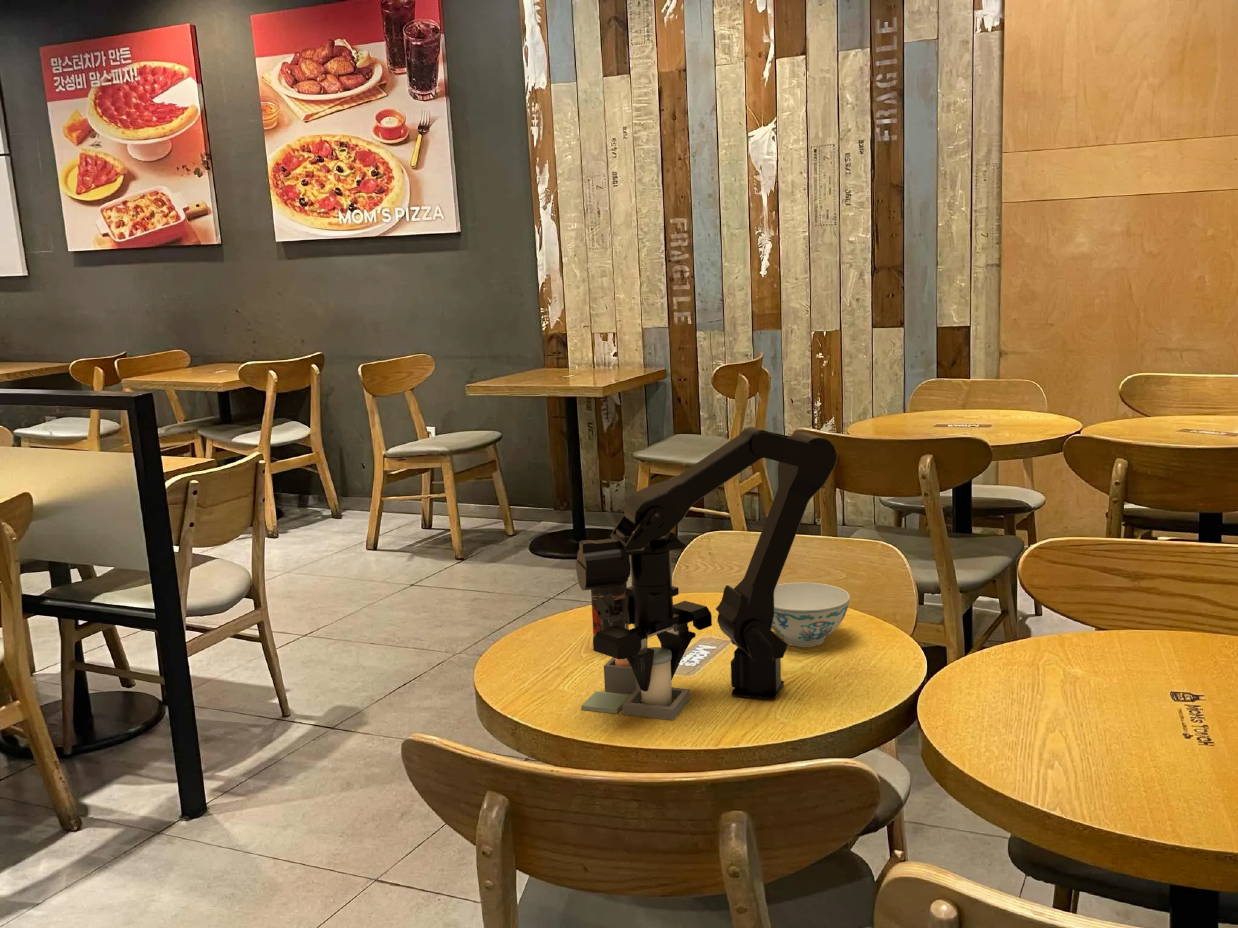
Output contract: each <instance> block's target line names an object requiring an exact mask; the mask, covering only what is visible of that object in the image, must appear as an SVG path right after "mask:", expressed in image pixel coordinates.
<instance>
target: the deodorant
mask: <svg viewBox="0 0 1238 928" xmlns="http://www.w3.org/2000/svg"><path fill="white" fill-rule="evenodd" d="M627 583H628V581H627V582H624V584H623V585H622V586H615V587H607V588H600V589H592V590H590V597H591V599H590V600H591V613H592V615H591V616H592V637H593V636H594V635H595V633H596V632H597V631H600V630H603V629H605V628H608V627H611V626H614V625H616V626H619V627H622V628H625V629H630V627H629V625H628V624H625V623H623V619H621V620H616V621H614V622H613V623H608V619H603V620H601V619H600V618H599V617H598V614H597V611H596V599H597V598H600V597H603V596H607V595H612V596H613V598H614V599H616V598H619V597H622V596H625V590H626V588H628V587H627V585H628V584H627Z"/></svg>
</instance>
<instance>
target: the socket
mask: <svg viewBox="0 0 1238 928" xmlns="http://www.w3.org/2000/svg"><path fill="white" fill-rule="evenodd" d="M629 695H630V696H629V697H628V698H627V700H626V701H625V702H624V703H623V708H622V715H624V714H625V716H633V717H641V718H651V719H659V720H669V721H675V720H676V718H677V717H678V716H679V714H680V713H681V712H682V710H684V708H685V707H686V705H687V704H688V703H689V702H690V701H691V689H690V688H685V687H684V688H682V687H672V705H671V706H670V707H668V706H659V705H650V704H642V700H641V689H640V686H639V687H638V688H637V689H636V690H635V691H634V692H633V693H632V694H629Z"/></svg>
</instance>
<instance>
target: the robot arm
mask: <svg viewBox="0 0 1238 928" xmlns="http://www.w3.org/2000/svg"><path fill="white" fill-rule="evenodd" d="M763 458H764V459H766V460H767V459H768V460H772V461H777V462H778V464H777V483H778V485H777V486H778V487H777V490H776V494H775V495H774V496H775V497H774V498H773V501H772V504H771V507H770V509H769V511H768V515H767V516H766V519H765V522H764V525H763V528H762V530H761V533H760V536H759V539H758V540H757V543H756V546H755V549H754V551H753V554H752V556H751V559H750V561H749V564H748V567H747V570H746V572H745V575H744V576H743V578H742V580H741V581H740V582H739V583H738V584H737V585H736V586H735V587H732V586H730V585H729V584H728V585H725V587H724V589H723V593H722V598H721V600H720V603H719V604H718V605H717V606H716V607H715V610H716V612H718V615H717V619H716V620H717V624H718V627H719V629H720V631H721V632H722V633H723V634H724V635H725V636H726V637H728V638H729V640H730V641H731V644H733V645H734V646H736V649H735V650H734V652H733V658H732V659H731V660H730V681H731V682H730V683H731V686H730V687H732V688H733V689H732V691H731V696H733V697H742V698H749V699H750V698H751V699H758V700H759V699H762V700H770V701H774V700H776V699H777V697H778V695H779V693H781V690H782V689H783V688H784V686H785V681H784V680H782V669H781V667H782V665H781V659H782V658H784V656H785V654H786V650H787V646H788V644H787V643H785V642H784V640H783V639H782V638H781V637H780V636H778V635H777V634H776V633H775V632H773V630H772V623H773V619H774V591H775V588H776V585H778V582H779V579H780V576H781V574H782V571H783V569H784V566H785V564H786V562H787V559H788V556H789V554H790V552H791V551H790V550H791V548H792V546H793V543H794V540H795V538H796V536H797V533H798V531H799V527H800V525H801V522H802V519H803V517H804V515H805V512H806V509H807V507H808V504H809V502H810V500H811V498H812V497H813V496H815V495H816V493H818V491H819V492H820V490H821V489H822V488H823V486H824V485H826V483H827V481H828V480H829V477H830V476H831V474H832V472H833V471H834V469H835V467H836V464H837V459H838V453H837V451H836V448H835V445H834V444H833V443H832V442H831V441H830V440H828V439H826V438H825V437H821V436H817V435H815V434H812V433H808V432H803V431H800V432H799V431H798V432H795V433H793V434H791V435H787V434H782V433H777V432H772V431H768V430H764V429H762V428H758V427H756V426H750V427H747V428H745V429H743V430H741V432H740V433H739V434H738V435H736V437H734V438H732V439H731V440H730V441H728V442H726V443H725V444H723V445H722V446H720V447H719V448H718V449H716V450H715V451H713V452H712V453H710V454H709V455H708V454H707V456H705V457H704V458H702V459H701V460H699V461H698V462H696V463H695V464H694V465H693V464H692V465H691V466H690V467H689V468H687V469H686V470H684V471H683V472H681V473H680V474H678V475H677V476H675V477H672V478H670V479H667V480H664V481H659V482H657V483H653V484H651V485H648V486H647V487H645V488H641V489H639V490H637V491H635V492H633V493H632V494H631V495H630V496H628V497H627V499H626V501H625V505H624V509H623V512H624V513H623V515H621V517H620V519H619V521H618V523H617V524H616V526H615V527H614V529H613V531H611V534H610V538H606V539H605V538H604V539H597V540H592V539H585V540H580V541H579V542H578V543H579V544H578V545H579V549H578V551H577V556H576V560H575V571H576V577H577V582H578V585H579V587H580V589H581V591H591V590H592V589H600V588H607V587H615V586H622V585H623V584H624V582H627V583H628V581H629V578H630V577H631V586H629V587H627V588H626V590H625V596H622V597H619V598H616V599H614V598H613V596H612V595H607V596H603V597H600V598H597V599H596V611H597V614H598V617H599V618H600V619H601V620H603V619H608V623H613V622H614V621H616V620H621V619H623V623H625V624H628V625H633V627H632V628H629V629H625V628H622V627H619V626H616V625H614V626H611V627H608V628H605V629H603V630H600V631H597V632H596V633H595V635H594V636H593V635H592V648H593V649H592V651H594V652H595V653H599V654H602V655H604V656H607V657H611V658H616V659H626V658H627V660H628V662H629V664H630V665H631V668H632V670H633V672H634V675H635V677H636V679H637V682H638V684H639V686H640V689H641V690H642V691H645V692H646V691H648V688H649V684H650V678H651V671H652V664H653V658H654V650H653V649H650V647H648V639H649V638H651V637H653V636H656V637H657V639H658V641H659V644H660V647H662V648H667V649H669V650H671V652H672V659H671V682H672V680H673V679H674V676H675V674H676V671H677V669H678V667H679V665H680V663H681V660H682V659H683V656H684V655H685V653H686V651H687V649H688V647H689V645H690V643H691V641H692V640H693V639H694V638H696V632H693V631H691V630H690V629H689V625H688V624H689V623H691V622H692V626H693V627H694V628H695V629H696V630H698V631H701V630H704V629H707V628H710V627H712V626H713V623H712V622H713V621H712V615H713V614H712V611H710V610H709V608H708V607H707V606H706V605H704V604H703V605H702V604H700V603H695V602H691V601H687V600H683V601H681V602H678V603H675V604H674V599H673V597H675V596H678V595H680V594H679V592H680V591H679V587H677V586H674V585H673V574H672V573H673V569H672V551H674V550H675V551H676V550H682V549H685V548H686V543H684V542H683V541H681V540H680V539H679V538H678V536H677V535H676V534H675V532H674V531H672V530H673V529H674V528H675V527H676V526H677V525H678V524H679V523H680V522H682V521H683V520H684V518H685V516H686V515H687V514H688V512H689V510H690V509H691V508H692V507H693V506H694V505H695V504H696V503H697V502H698V501H700V500H701V499H703V498H704V497H706V496H707V495H709V494H710V493H712V492H713V491H715V490H716V489H718V488H719V487H721V486H723V484H725V483H726V482H728V481H730V480H731V479H732V478H734V477H735V476H737V475H739V474H740V473H742V472H743V471H745V470H746V469H747V468H749V467H750V466H752V465H753V464H755V463H756V462H758V461H760V460H762V459H763Z"/></svg>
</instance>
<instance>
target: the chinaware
mask: <svg viewBox="0 0 1238 928" xmlns="http://www.w3.org/2000/svg"><path fill="white" fill-rule="evenodd" d="M850 598H851V597H850V593H848V591H846V590H845V589H843V588H841V587H838V586H835V585H831V584H826V583H820V582H819V583H818V582H808V581H807V582H803V581H801V582H800V581H799V582H785V583H779V584H778V583H777V585H776V588H775V591H774V619H773V623H772V628H771V630H772V631H775V632H776V633H777V634H778V635H780V637H782V638H783V639H782V640H783V641H784V642H785V643H786V644H787V645H790V646H793V647H800V648H809V647H816V645H817V646H819V645H821V644H823V643H824V642H825V638H826V637H827V636H829V635H831V634H832V633H833V632H834V631H836V629H837V628H839V626H840V625H841V623H842V621H843V620H844V618H845V616H846V614H847V611H848V608H849V603H850V601H851V600H850Z"/></svg>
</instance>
